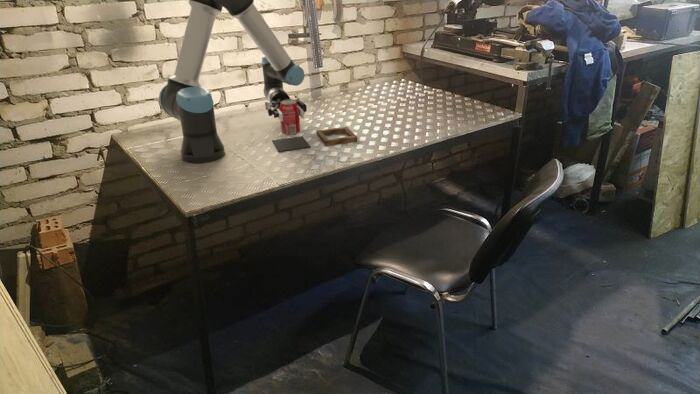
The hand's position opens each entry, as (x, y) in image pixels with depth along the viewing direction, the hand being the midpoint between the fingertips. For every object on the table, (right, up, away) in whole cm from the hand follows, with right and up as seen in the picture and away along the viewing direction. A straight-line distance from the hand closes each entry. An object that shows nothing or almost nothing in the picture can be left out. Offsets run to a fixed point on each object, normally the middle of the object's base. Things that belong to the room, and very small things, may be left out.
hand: (292, 116), depth 184 cm
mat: (-2, -9, +10) cm, 13 cm away
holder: (+15, -6, +15) cm, 22 cm away
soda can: (-1, -5, +8) cm, 10 cm away
